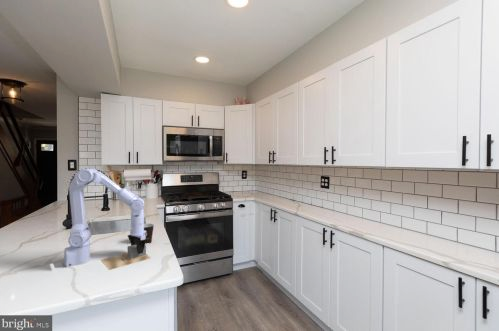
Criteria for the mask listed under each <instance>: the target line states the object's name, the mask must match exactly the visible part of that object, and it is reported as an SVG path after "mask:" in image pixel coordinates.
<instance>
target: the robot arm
mask: <svg viewBox="0 0 499 331" xmlns="http://www.w3.org/2000/svg"><path fill="white" fill-rule="evenodd" d="M91 183H92V184H101V185H102V186H103V187H105V188H107V189H108V190H110V191H111V192H113V193H114V194H115V195H116V199H118V200H119V201H120V202H122V203H123V204H125V205H126V206H129V210H131V212H130V230H129V234H127V238H128V240H129V243H130V246H132V245H136V246H137V252H138V254H141V253H143V250H144V246H145V245H147V244H146V242H147V240H148V238H145V234H144V233H146V231H145V230H144V224H145V210H144V207H145V201H144V199H143V198H142V197H139V195H135V194H134V193H133V192H131V191H132V190H131V189H130V188H126V187H123V188H121V187H120V186H119V185H118V184H117V183H115V182H114V181H113V179H110V178H109V177H108V176H106V175H105V174H104V173H103V172H101V171H99V170H98V169H97V168H94V167H90V168H89V167H88V168H81V169H80V170H78V171H77V172H76V173H75V174H74V177H73V178H72V180H71V181H70V183H69V186H68V192H69V202H70V204H69V205H70V212H71V222H72V223H71V224H72V226H71V229H70V232H69V233H70V234H69V238H68V239H67V241H68V244H69V246H68V247H65V248H64V252H63V253H64V255H63V257H64V261H63V265H64V266H65V267H66V268H71V267H73V266H80V265H84V264H87V263H89V262H90V261H91V242H90V238H91V237H92V231H91V229H90V227H89V226H90V225H89V224H88V222H87V215H86V214H87V213H86V204H85V203H86V202H85V192H84V189H85V188H86V187H88V185H89V184H91Z"/></svg>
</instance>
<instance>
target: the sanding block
mask: <svg viewBox="0 0 499 331" xmlns="http://www.w3.org/2000/svg"><path fill="white" fill-rule="evenodd" d="M127 253H128V255H127V257H128V258H130V259H135V258H138V257H142V256H146V254H147V244H145V246H144V250H143V253H141V254H138V252H137V246H136V245H132V246H131V245H128V246H127Z"/></svg>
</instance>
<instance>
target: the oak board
mask: <svg viewBox="0 0 499 331" xmlns="http://www.w3.org/2000/svg"><path fill="white" fill-rule="evenodd" d="M127 255H128V252H126V253H123V254H118V255H114V256H110V257H107V258H103V259H102V258H101V259H100V261H101V263H102V264H103V265H104V266H105V267H106V269H107V270H109V271H110V270H114V269H119V268H122V267H124V266H129V265H131V264H132V265H133V264H135V263H136V264H137V263H139V262H143V261H145V260H149V259H152V257H151V256H149V255H148V254H147V253H146V256H142V257H138V258H135V259H130V258H128V257H127Z"/></svg>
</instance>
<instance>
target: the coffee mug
mask: <svg viewBox="0 0 499 331" xmlns="http://www.w3.org/2000/svg"><path fill="white" fill-rule="evenodd" d="M154 227H155V226H154V224H153V223H144V230H145V231H146V233H144V234H145V238H148V240H147V242H146V244H145V245H148V244H147V243H149V244H151V243H152V241H153V232H154Z"/></svg>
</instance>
